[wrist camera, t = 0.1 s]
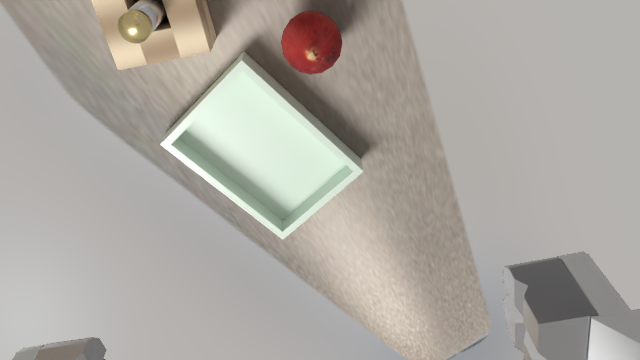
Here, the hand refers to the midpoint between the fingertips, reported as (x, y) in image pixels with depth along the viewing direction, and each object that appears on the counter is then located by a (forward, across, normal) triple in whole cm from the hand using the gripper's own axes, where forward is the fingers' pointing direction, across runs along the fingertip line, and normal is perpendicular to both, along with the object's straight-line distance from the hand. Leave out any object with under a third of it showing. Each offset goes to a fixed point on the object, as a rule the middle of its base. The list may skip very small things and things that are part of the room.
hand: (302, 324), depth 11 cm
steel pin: (+48, +14, +1) cm, 50 cm away
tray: (+48, +8, +19) cm, 52 cm away
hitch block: (+48, +14, +1) cm, 50 cm away
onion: (+48, 0, +7) cm, 49 cm away
